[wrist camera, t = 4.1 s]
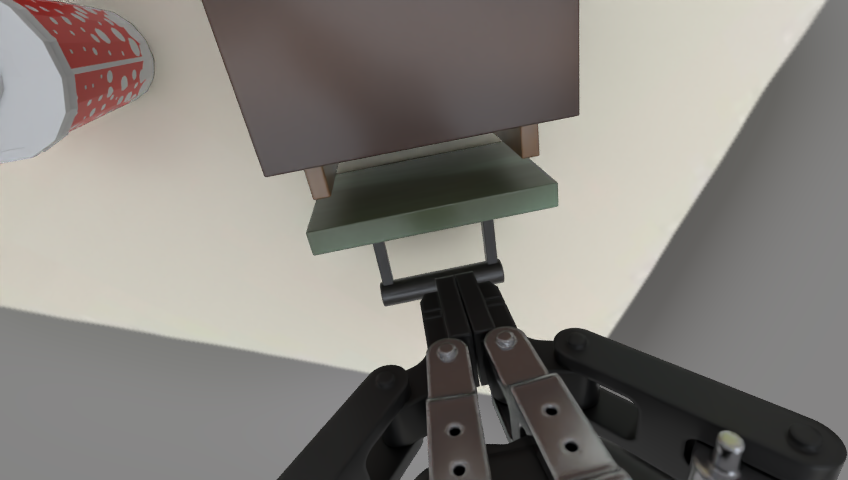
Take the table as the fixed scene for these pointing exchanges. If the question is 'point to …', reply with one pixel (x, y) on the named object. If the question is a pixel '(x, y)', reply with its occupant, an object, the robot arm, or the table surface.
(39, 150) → the beverage cup
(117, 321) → the table surface
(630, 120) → the table surface
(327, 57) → the cabinet
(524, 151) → the drawer
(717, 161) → the table surface
